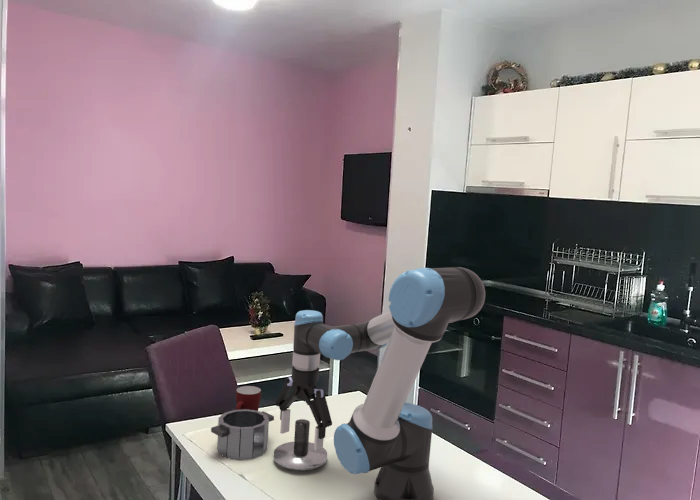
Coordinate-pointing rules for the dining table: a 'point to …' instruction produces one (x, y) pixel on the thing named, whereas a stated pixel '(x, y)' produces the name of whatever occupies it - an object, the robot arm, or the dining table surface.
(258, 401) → the mug
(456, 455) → the dining table surface
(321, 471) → the dining table surface
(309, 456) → the lid
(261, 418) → the pot
